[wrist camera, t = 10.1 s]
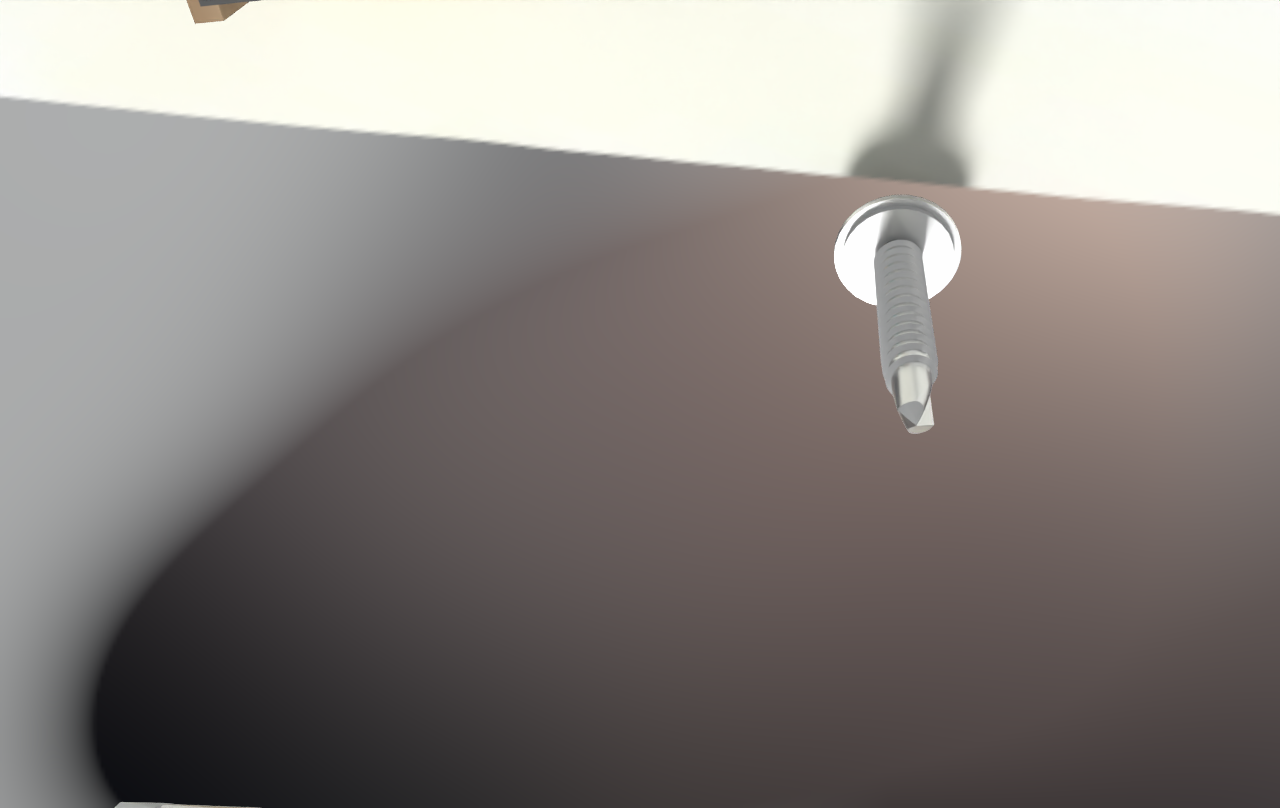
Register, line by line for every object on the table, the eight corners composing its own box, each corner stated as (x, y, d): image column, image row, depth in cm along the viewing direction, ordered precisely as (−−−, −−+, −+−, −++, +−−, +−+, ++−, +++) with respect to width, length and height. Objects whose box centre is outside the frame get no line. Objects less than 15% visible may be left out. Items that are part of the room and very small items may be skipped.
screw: (869, 155, 43) (979, 203, 44) (813, 254, 46) (917, 297, 47) (884, 339, 33) (1028, 398, 33) (811, 451, 36) (945, 504, 36)
